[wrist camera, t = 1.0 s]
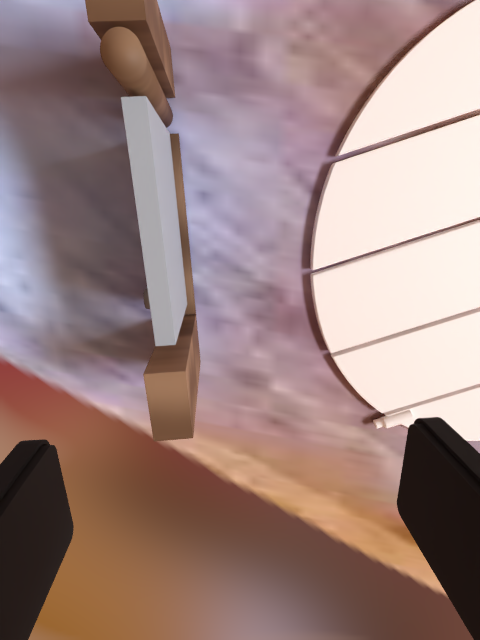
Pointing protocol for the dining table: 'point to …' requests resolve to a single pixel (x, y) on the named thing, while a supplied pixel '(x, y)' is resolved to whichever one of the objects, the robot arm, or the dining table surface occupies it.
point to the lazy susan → (403, 224)
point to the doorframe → (157, 84)
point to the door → (156, 217)
